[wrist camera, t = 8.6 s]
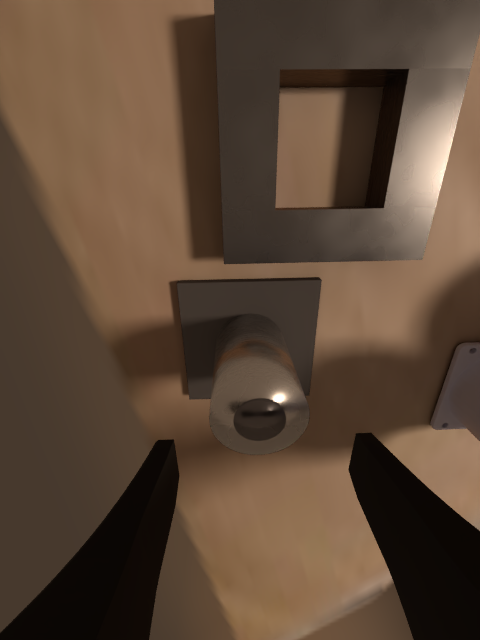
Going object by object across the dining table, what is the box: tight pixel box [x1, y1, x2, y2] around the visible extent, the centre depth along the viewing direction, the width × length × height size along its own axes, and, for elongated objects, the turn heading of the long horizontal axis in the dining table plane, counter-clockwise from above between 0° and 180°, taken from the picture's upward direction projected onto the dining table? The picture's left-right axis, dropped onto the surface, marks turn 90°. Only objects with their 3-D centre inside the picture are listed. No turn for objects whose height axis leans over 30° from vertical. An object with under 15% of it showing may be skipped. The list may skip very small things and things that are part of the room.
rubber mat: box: [177, 277, 322, 399], centre depth 20 cm, size 9×9×1 cm
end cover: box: [209, 313, 310, 455], centre depth 16 cm, size 5×5×7 cm
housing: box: [214, 0, 480, 264], centre depth 14 cm, size 11×11×2 cm
